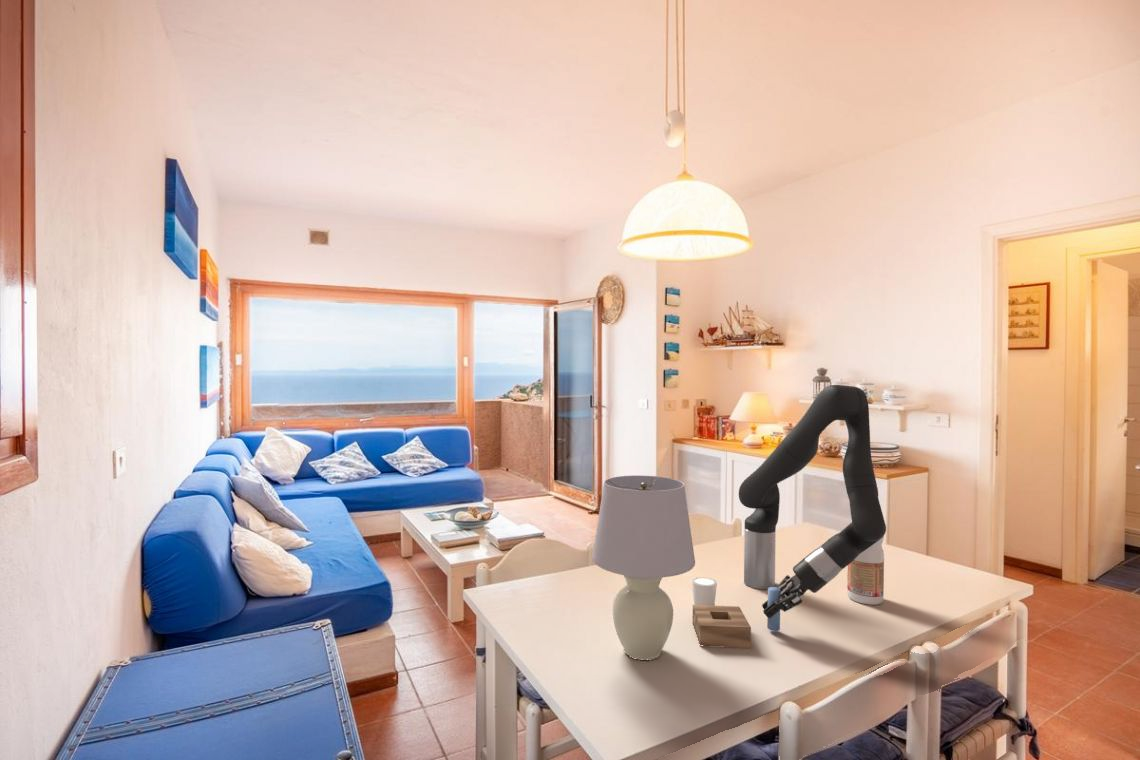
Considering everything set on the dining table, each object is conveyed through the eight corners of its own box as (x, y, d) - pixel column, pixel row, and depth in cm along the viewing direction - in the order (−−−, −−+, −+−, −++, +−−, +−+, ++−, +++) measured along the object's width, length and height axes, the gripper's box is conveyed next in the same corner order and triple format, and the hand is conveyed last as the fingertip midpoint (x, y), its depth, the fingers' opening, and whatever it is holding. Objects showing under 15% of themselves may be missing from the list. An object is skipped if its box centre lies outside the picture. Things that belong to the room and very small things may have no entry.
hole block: (692, 623, 146) (692, 604, 146) (739, 625, 146) (739, 606, 146) (699, 646, 134) (700, 625, 134) (750, 648, 134) (750, 627, 134)
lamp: (622, 689, 116) (623, 497, 115) (575, 638, 138) (576, 477, 137) (716, 666, 125) (717, 488, 125) (658, 622, 147) (659, 471, 147)
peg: (765, 625, 144) (766, 586, 144) (777, 625, 144) (778, 587, 143) (769, 630, 141) (769, 591, 141) (781, 631, 141) (782, 591, 140)
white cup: (702, 612, 153) (703, 587, 153) (686, 603, 159) (686, 579, 159) (721, 608, 157) (722, 583, 156) (705, 599, 163) (705, 575, 163)
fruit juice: (858, 605, 159) (859, 507, 158) (840, 592, 168) (842, 500, 168) (890, 605, 159) (891, 507, 159) (871, 592, 168) (872, 500, 168)
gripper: (801, 548, 147) (752, 590, 150) (811, 567, 133) (756, 612, 136) (823, 570, 146) (772, 612, 149) (834, 591, 132) (779, 636, 135)
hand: (765, 611), depth 143 cm, fingers closed on peg, 3 cm apart
